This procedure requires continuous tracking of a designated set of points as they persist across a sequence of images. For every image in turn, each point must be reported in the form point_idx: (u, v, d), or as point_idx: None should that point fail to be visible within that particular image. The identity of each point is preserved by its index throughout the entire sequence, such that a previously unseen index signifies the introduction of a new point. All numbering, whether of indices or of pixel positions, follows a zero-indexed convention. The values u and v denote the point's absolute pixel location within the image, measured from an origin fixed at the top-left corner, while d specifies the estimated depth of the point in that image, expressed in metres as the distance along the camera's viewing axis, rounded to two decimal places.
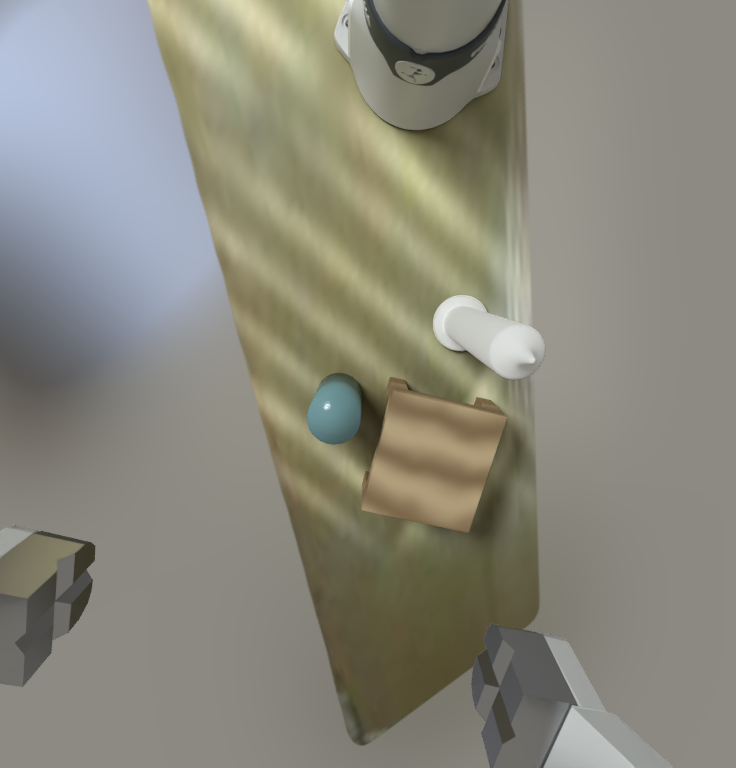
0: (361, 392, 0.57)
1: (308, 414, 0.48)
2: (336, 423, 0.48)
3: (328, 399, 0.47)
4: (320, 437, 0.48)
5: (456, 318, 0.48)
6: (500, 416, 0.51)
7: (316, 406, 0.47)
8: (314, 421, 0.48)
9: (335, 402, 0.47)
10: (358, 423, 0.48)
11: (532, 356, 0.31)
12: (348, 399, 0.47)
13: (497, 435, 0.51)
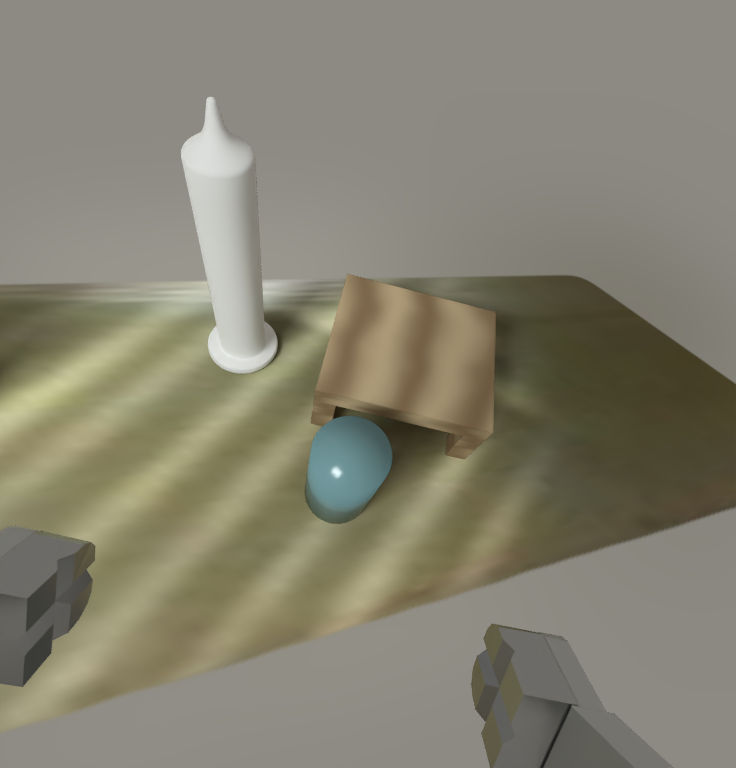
0: None
1: (346, 491, 0.30)
2: (359, 449, 0.32)
3: (320, 460, 0.31)
4: (382, 473, 0.31)
5: (222, 320, 0.39)
6: (346, 280, 0.43)
7: (333, 477, 0.30)
8: (357, 482, 0.30)
9: (325, 450, 0.31)
10: (357, 418, 0.33)
11: (206, 102, 0.25)
12: (320, 431, 0.32)
13: (369, 283, 0.44)
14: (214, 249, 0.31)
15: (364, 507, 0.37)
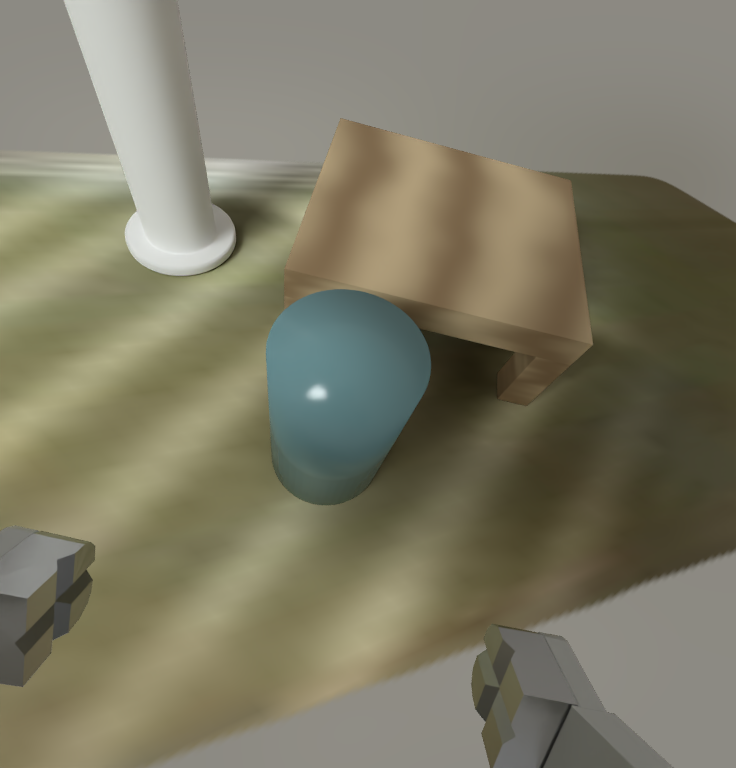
0: None
1: (338, 423, 0.14)
2: (364, 346, 0.16)
3: (286, 363, 0.15)
4: (414, 391, 0.15)
5: (129, 164, 0.23)
6: (339, 125, 0.28)
7: (310, 397, 0.14)
8: (362, 406, 0.15)
9: (296, 345, 0.15)
10: (359, 295, 0.17)
11: None
12: (287, 313, 0.16)
13: (376, 132, 0.28)
14: None
15: (373, 474, 0.21)
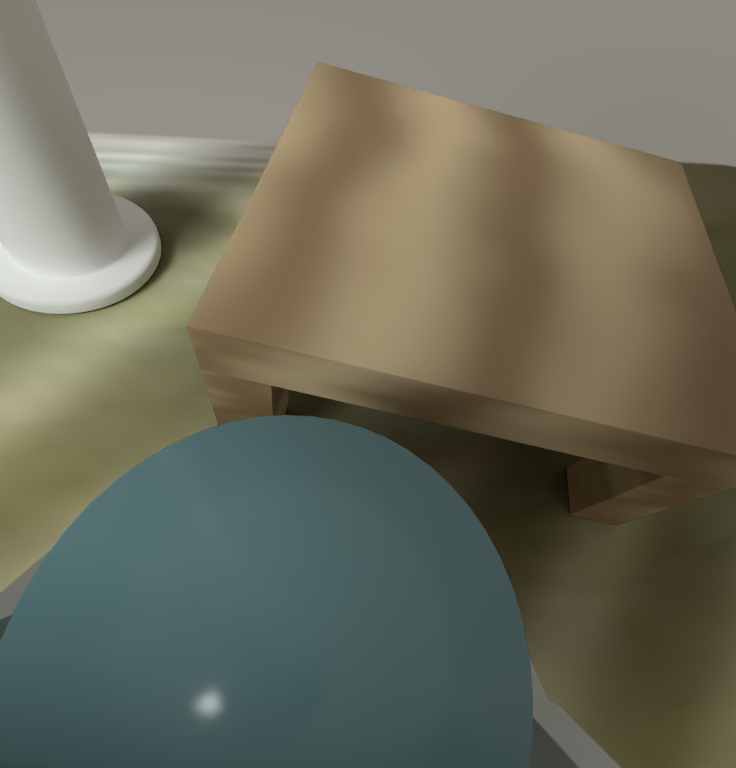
0: None
1: None
2: (330, 619, 0.05)
3: (49, 736, 0.04)
4: None
5: None
6: (315, 72, 0.17)
7: None
8: None
9: (105, 643, 0.05)
10: (324, 430, 0.06)
11: None
12: (100, 511, 0.05)
13: (374, 83, 0.17)
14: None
15: None
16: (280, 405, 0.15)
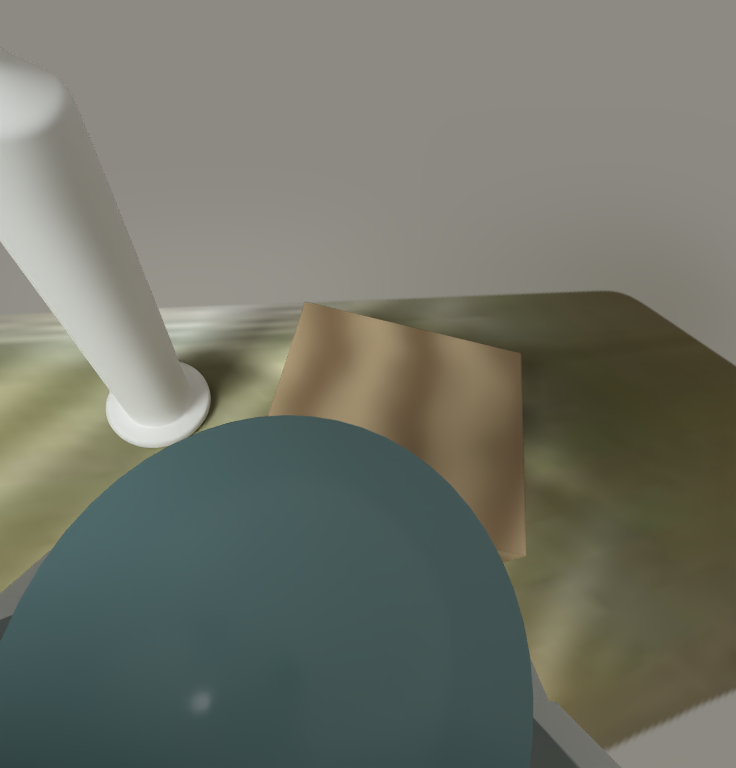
0: None
1: None
2: (330, 620, 0.05)
3: (50, 736, 0.04)
4: None
5: (105, 381, 0.25)
6: (303, 311, 0.30)
7: None
8: None
9: (105, 643, 0.05)
10: (324, 430, 0.06)
11: None
12: (101, 511, 0.05)
13: (337, 315, 0.30)
14: (39, 279, 0.18)
15: None
16: None
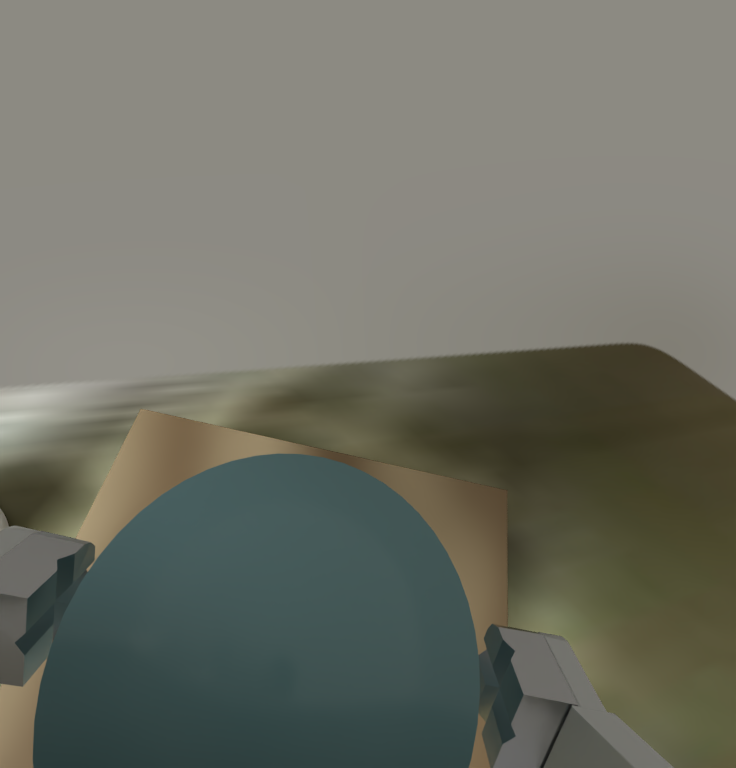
0: None
1: None
2: (314, 628, 0.06)
3: (92, 721, 0.05)
4: None
5: None
6: (134, 427, 0.17)
7: None
8: None
9: (133, 648, 0.06)
10: (312, 466, 0.08)
11: None
12: (126, 539, 0.07)
13: (195, 432, 0.18)
14: None
15: None
16: None
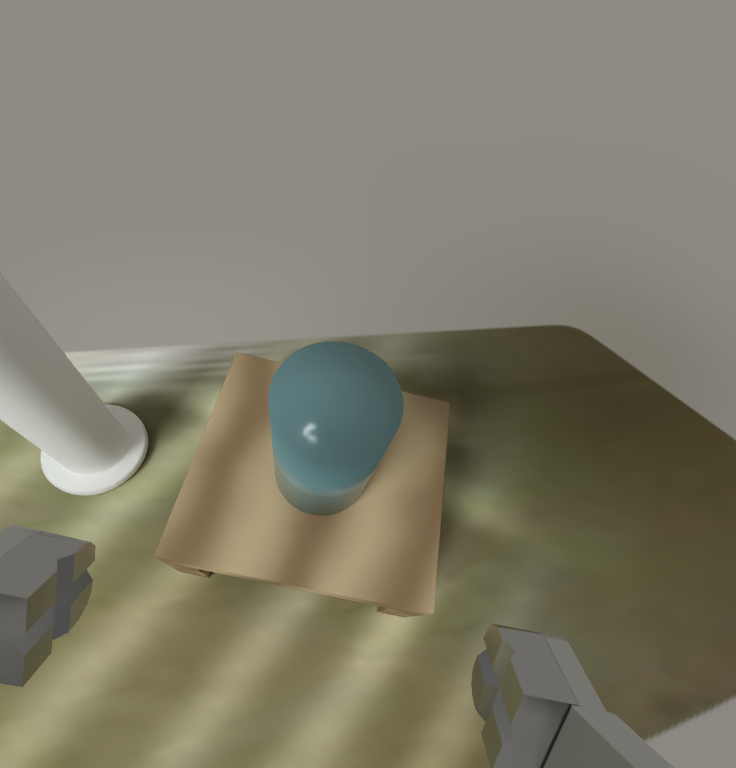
0: None
1: (325, 458, 0.18)
2: (349, 392, 0.19)
3: (284, 408, 0.18)
4: (388, 430, 0.19)
5: None
6: (234, 362, 0.30)
7: (303, 436, 0.18)
8: (345, 443, 0.18)
9: (293, 392, 0.19)
10: (346, 346, 0.20)
11: None
12: (286, 364, 0.19)
13: (268, 365, 0.31)
14: None
15: (360, 491, 0.25)
16: None
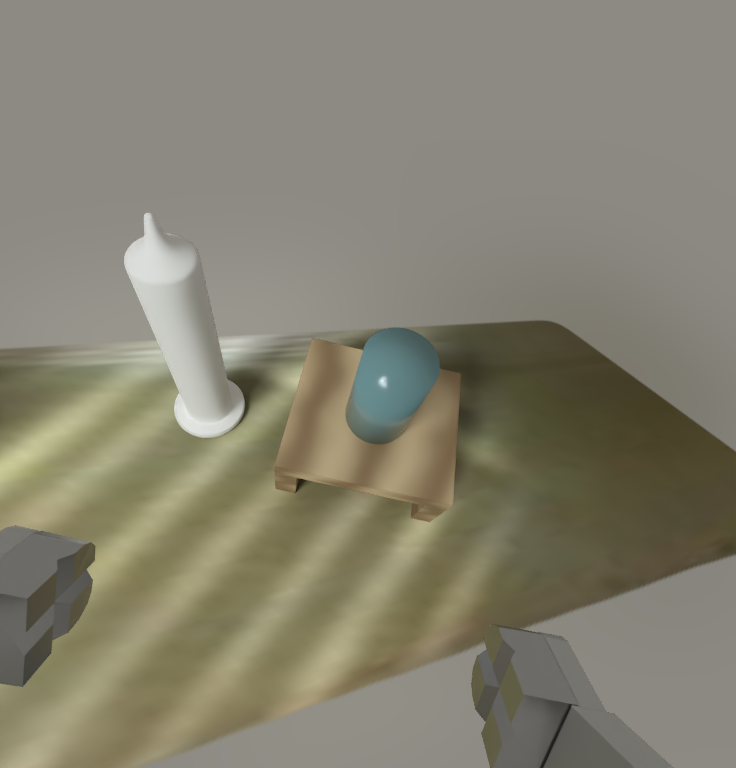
0: None
1: (396, 393, 0.31)
2: (408, 357, 0.32)
3: (372, 364, 0.32)
4: (431, 380, 0.32)
5: (183, 393, 0.39)
6: (311, 344, 0.44)
7: (383, 380, 0.31)
8: (407, 386, 0.31)
9: (376, 356, 0.32)
10: (405, 331, 0.34)
11: (144, 217, 0.25)
12: (371, 339, 0.33)
13: (334, 347, 0.44)
14: (166, 339, 0.32)
15: (405, 426, 0.38)
16: None
